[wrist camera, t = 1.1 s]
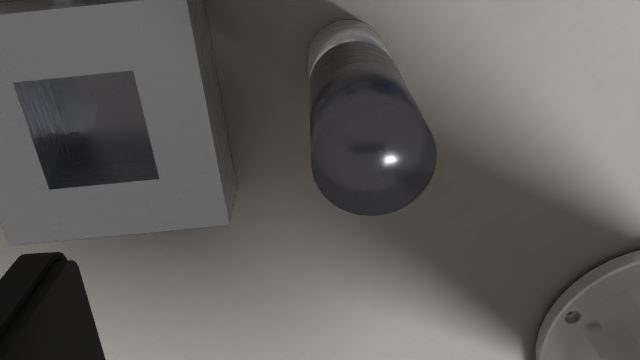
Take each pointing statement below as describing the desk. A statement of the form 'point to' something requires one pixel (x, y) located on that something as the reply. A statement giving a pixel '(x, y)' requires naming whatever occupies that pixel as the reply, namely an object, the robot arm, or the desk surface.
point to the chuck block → (110, 120)
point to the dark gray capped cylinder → (364, 123)
